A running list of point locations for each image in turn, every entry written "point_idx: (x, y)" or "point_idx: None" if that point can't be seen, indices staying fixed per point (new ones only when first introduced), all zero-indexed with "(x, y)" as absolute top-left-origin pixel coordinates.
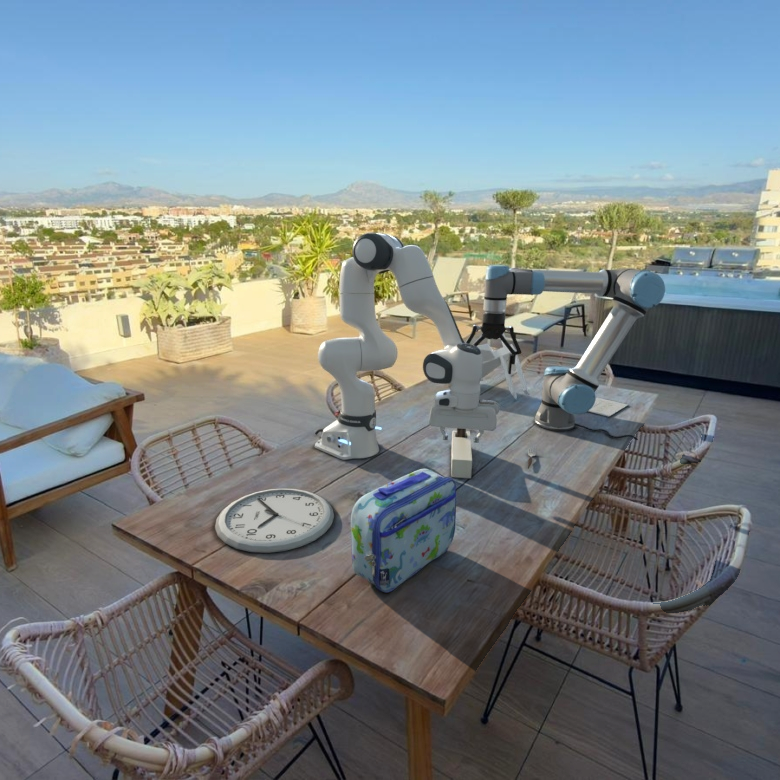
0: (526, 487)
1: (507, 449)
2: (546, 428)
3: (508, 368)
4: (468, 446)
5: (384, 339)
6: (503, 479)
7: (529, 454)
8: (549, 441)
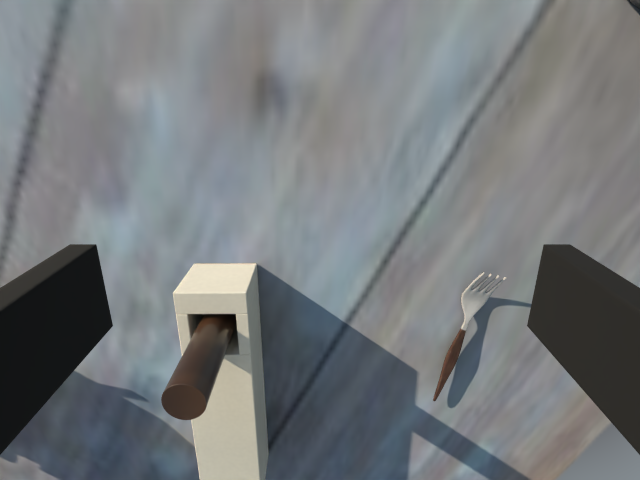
0: (406, 474)
1: (396, 260)
2: (635, 3)
3: (567, 295)
4: (246, 421)
5: None
6: (354, 447)
7: (465, 301)
8: (586, 157)
